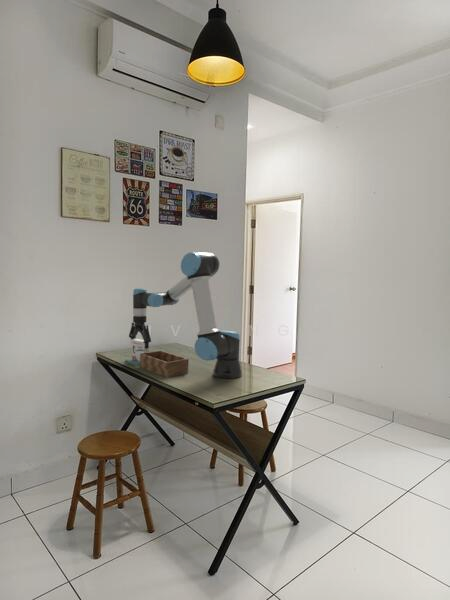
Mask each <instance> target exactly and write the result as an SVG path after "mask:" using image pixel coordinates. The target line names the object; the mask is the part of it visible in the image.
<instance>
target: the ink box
mask: <svg viewBox="0 0 450 600" xmlns="http://www.w3.org/2000/svg"><path fill="white" fill-rule="evenodd" d="M142 353H144V340H143V338H134V340H132V350H131V356H132V357H131V358H132V360H136V361H140V354H142Z"/></svg>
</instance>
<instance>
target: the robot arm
mask: <svg viewBox="0 0 450 600" xmlns="http://www.w3.org/2000/svg"><path fill="white" fill-rule="evenodd" d="M219 269H220V261H219V258H218V257H217V256H216V255H215V254H213V253H212V252H201V251H200V252H199V251H190V252H187V253H185V254H184V255H183V258H182V259H181V261H180V271H181V273H182V274H184V276H185V277H183V278H182V279H181V280H180V281H178V282H177V283H175V284H174V285H173V286H172V287H171V288H169V289H168V290H167V291H166V292H148V291H147V289H146V288H142V287H141V288H140V287H138V288H137V287H135V288H134V289H133V293H132V304H133V305H132V315H133V316H132V322H131V326H130V330H129V334H128V337H129V338H130V345H131V346H130V351H132V340H134V339H137V335H138V333H140V335H141V336H142V339H143V340H144V353H148V352H149V349H150V348H149V345H150V344H149V343H151V342H152V338H151V334H150V331H149V325H148V324H145V323H147V307H150V308H151V307H152V308H160V307H162V306H163V307H164V306H173V305H176V304H178V302H179V301H180V298H182V297H183V296H185V295H186V294H188V292H190V291H191V290H192V294H193V295H192V296H193V301H194V307H195V310H196V311H195V312H196V317H197V323H198V328H199V331H198V333H197V334H196V335H197V339H196V341H195V343H194V351H195V354H196V355H197V357H199V358H200V359H201V360H202V361H214V360H215V365H214V367H213V369H212V376H213V377H216V378H220V379H235V378H240V377H242V376H243V371H242V370H243V369H242V368H241V367H242V366H241V363H240V341H241V339H240V333H238V331H237V332H236V331H232V330H231V331H230V330H222V329H221V330H220V329H219V328H218V327H217V323H216V322H217V321H216V316H215V311H214V305H213V301H212V300H213V299H212V293H211V288H210V284H209V281H210V279H211V278H212V277H214V275H216V273H217V272H218V271H219Z"/></svg>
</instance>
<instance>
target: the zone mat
mask: <svg viewBox="0 0 450 600" xmlns="http://www.w3.org/2000/svg"><path fill="white" fill-rule="evenodd" d="M124 362H125V363H127V364H131V365H133V366H140V361H136V360H132V357H131V358H127V359H124Z"/></svg>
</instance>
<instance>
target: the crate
mask: <svg viewBox="0 0 450 600" xmlns="http://www.w3.org/2000/svg"><path fill="white" fill-rule="evenodd" d="M139 367H140V368H141V369H145V370H147V371H149V372H152V373H155V374H157V375H159V376H162V377H165V378H170V377H175V376H180V375H184V374H185V375H186V374H189V358H186V357H184V356H180V355H177V354H173V353H171V352H167V351H164V350H156V351H148V353H142V354H140V365H139Z"/></svg>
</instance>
